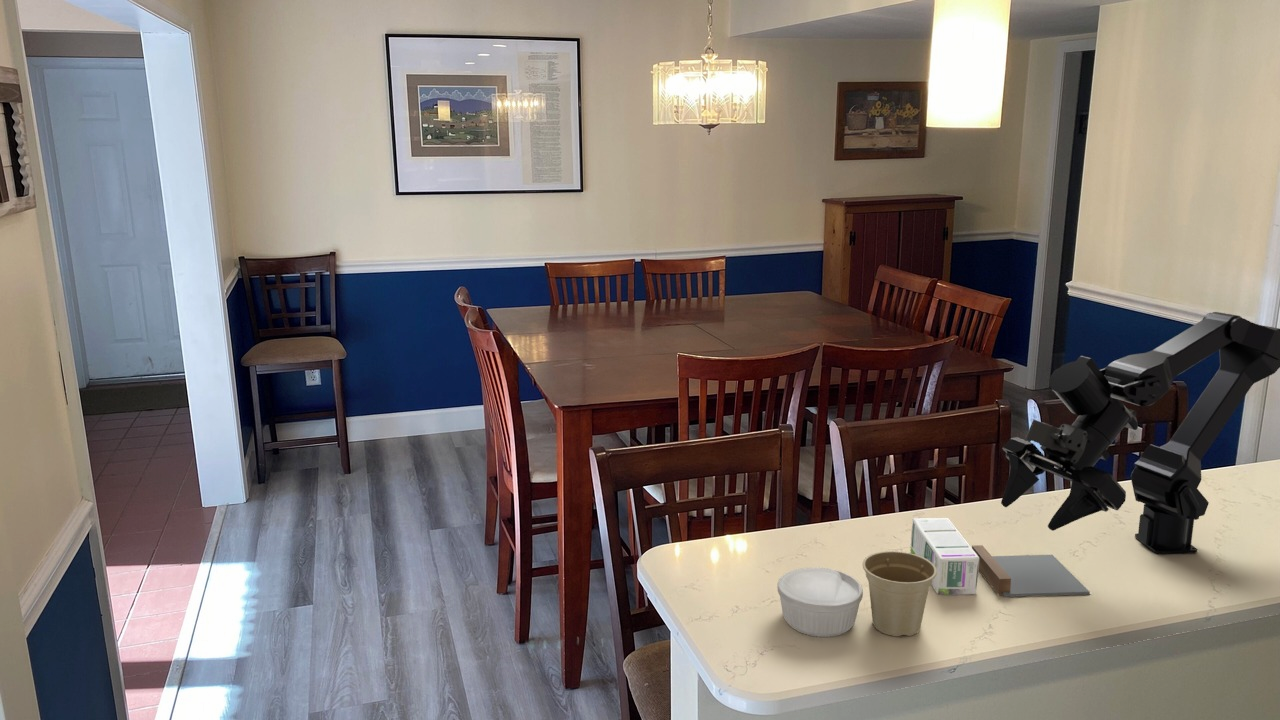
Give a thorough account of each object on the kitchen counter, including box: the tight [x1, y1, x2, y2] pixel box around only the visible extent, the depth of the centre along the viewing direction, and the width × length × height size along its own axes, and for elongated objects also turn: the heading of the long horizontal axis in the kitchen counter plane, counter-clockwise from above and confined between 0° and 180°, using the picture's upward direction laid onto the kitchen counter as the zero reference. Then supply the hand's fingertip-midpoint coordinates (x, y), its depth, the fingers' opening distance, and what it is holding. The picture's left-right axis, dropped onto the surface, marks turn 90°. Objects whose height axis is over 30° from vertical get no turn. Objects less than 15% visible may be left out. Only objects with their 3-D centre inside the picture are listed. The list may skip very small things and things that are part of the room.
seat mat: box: [991, 554, 1091, 598], centre depth 134 cm, size 12×12×1 cm
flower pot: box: [862, 550, 937, 637], centre depth 121 cm, size 9×9×9 cm
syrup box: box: [909, 517, 980, 596], centre depth 136 cm, size 6×6×14 cm
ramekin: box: [777, 566, 864, 638], centre depth 123 cm, size 11×11×5 cm
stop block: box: [971, 544, 1011, 596], centre depth 134 cm, size 2×11×2 cm, turn 0°
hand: (1025, 516), depth 132 cm, fingers open, 9 cm apart
